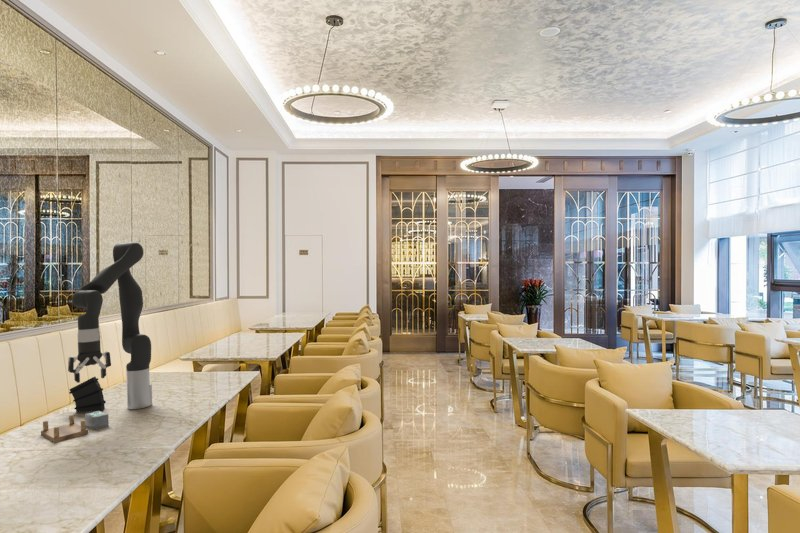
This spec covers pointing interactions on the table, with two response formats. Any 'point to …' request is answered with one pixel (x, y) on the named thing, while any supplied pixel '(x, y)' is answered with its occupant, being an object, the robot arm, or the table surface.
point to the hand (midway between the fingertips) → (90, 380)
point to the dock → (64, 430)
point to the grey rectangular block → (96, 420)
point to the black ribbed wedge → (88, 396)
